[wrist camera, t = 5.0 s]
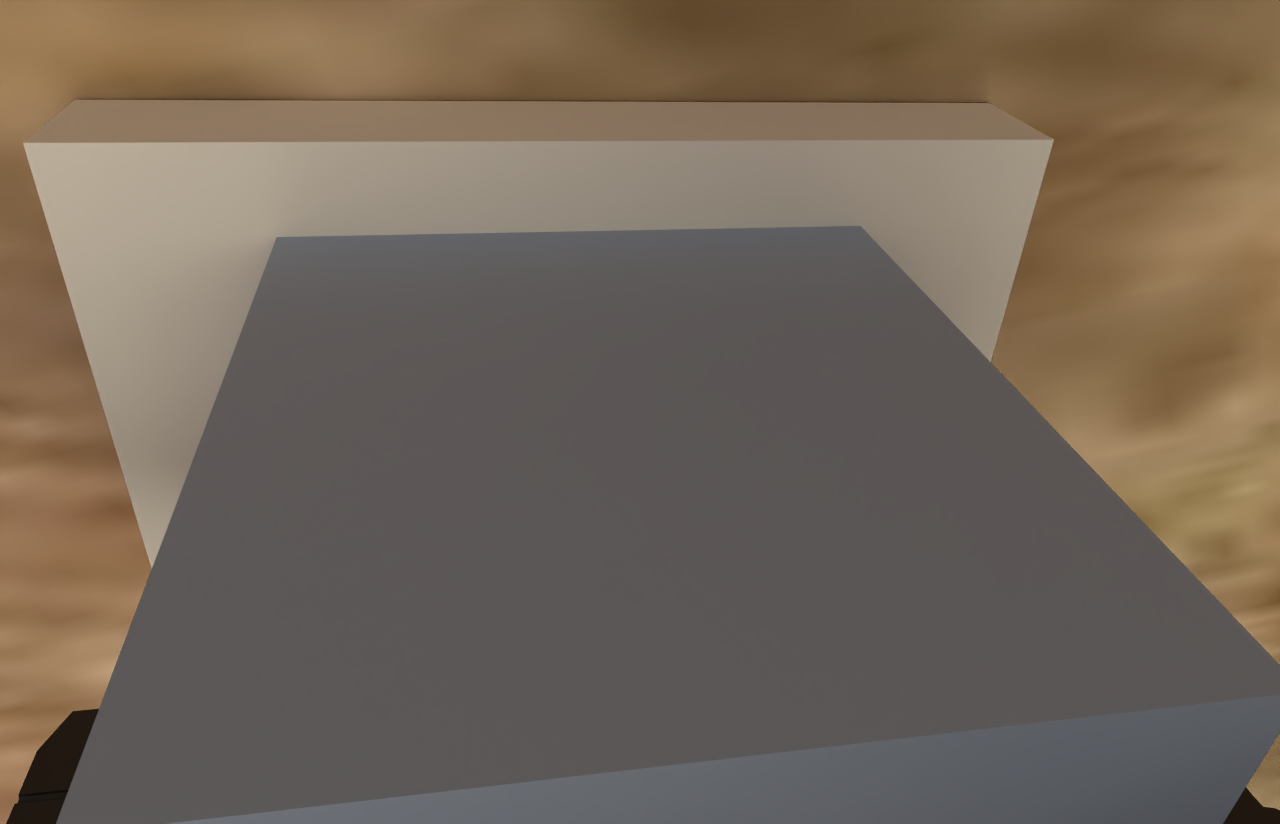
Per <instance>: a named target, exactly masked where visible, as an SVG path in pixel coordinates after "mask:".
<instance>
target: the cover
mask: <svg viewBox="0 0 1280 824" xmlns="http://www.w3.org/2000/svg"><path fill="white" fill-rule="evenodd" d="M1279 733H1280V665H1279V664H1278V663H1277V662H1276V661H1275V660H1274V659H1273V658H1272V656H1271V655H1270V654H1269V653H1268V652H1267V651H1266V650H1265V649H1264V648H1263V647H1262V646H1261V645H1260V644H1259V643H1258V642H1257V641H1256V640H1255V639H1254V638H1253V637H1252V636H1251V634H1250V633H1249V632H1248V631H1247V630H1246V629H1245V628H1244V627H1243V626H1242V625H1241V624H1240V623H1239V622H1238V621H1237V620H1236V619H1235V618H1234V617H1233V616H1232V615H1231V614H1230V612H1229V611H1228V610H1227V609H1226V608H1225V607H1224V606H1223V605H1222V604H1221V603H1220V602H1219V601H1218V600H1217V599H1216V598H1215V597H1214V596H1213V595H1212V594H1211V593H1210V592H1209V590H1208V589H1207V588H1206V587H1205V586H1204V585H1203V584H1202V583H1201V582H1200V581H1199V580H1198V579H1197V578H1196V577H1195V576H1194V575H1193V574H1192V573H1191V572H1190V571H1189V570H1188V568H1187V567H1186V566H1185V565H1184V564H1183V563H1182V562H1181V561H1180V560H1179V559H1178V558H1177V557H1176V556H1175V555H1174V554H1173V553H1172V552H1171V551H1170V550H1169V549H1168V548H1167V546H1166V545H1165V544H1164V543H1163V542H1162V541H1161V540H1160V539H1159V538H1158V537H1157V536H1156V535H1155V534H1154V533H1153V532H1152V531H1151V530H1150V529H1149V528H1148V527H1147V526H1146V524H1145V523H1144V522H1143V521H1142V520H1141V519H1140V518H1139V517H1138V516H1137V515H1136V514H1135V513H1134V512H1133V511H1132V510H1131V509H1130V508H1129V507H1128V506H1127V505H1126V504H1125V502H1124V501H1123V500H1122V499H1121V498H1120V497H1119V496H1118V495H1117V494H1116V493H1115V492H1114V491H1113V490H1112V489H1111V488H1110V487H1109V486H1108V485H1107V484H1106V483H1105V482H1104V480H1103V479H1102V478H1101V477H1100V476H1099V475H1098V474H1097V473H1096V472H1095V471H1094V470H1093V469H1092V468H1091V467H1090V466H1089V465H1088V464H1087V463H1086V462H1085V461H1084V460H1083V458H1082V457H1081V456H1080V455H1079V454H1078V453H1077V452H1076V451H1075V450H1074V449H1073V448H1072V447H1071V446H1070V445H1069V444H1068V443H1067V442H1066V441H1065V440H1064V439H1063V438H1062V437H1061V435H1060V434H1059V433H1058V432H1057V431H1056V430H1055V429H1054V428H1053V427H1052V426H1051V425H1050V424H1049V423H1048V422H1047V421H1046V420H1045V419H1044V418H1043V417H1042V416H1041V415H1040V413H1039V412H1038V411H1037V410H1036V409H1035V408H1034V407H1033V406H1032V405H1031V404H1030V403H1029V402H1028V401H1027V400H1026V399H1025V398H1024V397H1023V396H1022V395H1021V394H1020V393H1019V391H1018V390H1017V389H1016V388H1015V387H1014V386H1013V385H1012V384H1011V383H1010V382H1009V381H1008V380H1007V379H1006V378H1005V377H1004V376H1003V375H1002V374H1001V373H1000V372H999V371H998V369H997V368H996V367H995V366H994V365H993V364H992V363H991V362H990V361H989V360H988V359H987V358H986V357H985V356H984V355H983V354H982V353H981V352H980V351H979V350H978V349H977V347H976V346H975V345H974V344H973V343H972V342H971V341H970V340H969V339H968V338H967V337H966V336H965V335H964V334H963V333H962V332H961V331H960V330H959V329H958V328H957V327H956V325H955V324H954V323H953V322H952V321H951V320H950V319H949V318H948V317H947V316H946V315H945V314H944V313H943V312H942V311H941V310H940V309H939V308H938V307H937V306H936V305H935V303H934V302H933V301H932V300H931V299H930V298H929V297H928V296H927V295H926V294H925V293H924V292H923V291H922V290H921V289H920V288H919V287H918V286H917V285H916V284H915V283H914V281H913V280H912V279H911V278H910V277H909V276H908V275H907V274H906V273H905V272H904V271H903V270H902V269H901V268H900V267H899V266H898V265H897V264H896V263H895V262H894V261H893V259H892V258H891V257H890V256H889V255H888V254H887V253H886V252H885V251H884V250H883V249H882V248H881V247H880V246H879V245H878V244H877V243H876V242H875V241H874V240H873V239H872V237H871V236H870V235H869V234H868V233H867V232H866V231H865V230H864V229H863V228H862V227H861V226H829V227H776V228H724V229H672V230H620V231H568V232H516V233H463V234H411V235H359V236H307V237H277V238H276V240H275V243H274V246H273V248H272V251H271V254H270V256H269V259H268V262H267V264H266V267H265V270H264V272H263V275H262V277H261V280H260V283H259V285H258V288H257V291H256V293H255V296H254V299H253V301H252V304H251V307H250V309H249V312H248V315H247V317H246V320H245V323H244V325H243V328H242V331H241V333H240V336H239V339H238V341H237V344H236V347H235V349H234V352H233V355H232V357H231V360H230V363H229V365H228V368H227V371H226V373H225V376H224V378H223V381H222V384H221V386H220V389H219V392H218V394H217V397H216V400H215V402H214V405H213V408H212V410H211V413H210V416H209V418H208V421H207V424H206V426H205V429H204V432H203V434H202V437H201V440H200V442H199V445H198V448H197V450H196V453H195V456H194V458H193V461H192V464H191V466H190V469H189V472H188V474H187V477H186V479H185V482H184V485H183V487H182V490H181V493H180V495H179V498H178V501H177V503H176V506H175V509H174V511H173V514H172V517H171V519H170V522H169V525H168V527H167V530H166V533H165V535H164V538H163V541H162V543H161V546H160V549H159V551H158V554H157V557H156V559H155V562H154V565H153V567H152V570H151V573H150V575H149V578H148V580H147V583H146V586H145V588H144V591H143V594H142V596H141V599H140V602H139V604H138V607H137V610H136V612H135V615H134V618H133V620H132V623H131V626H130V628H129V631H128V634H127V636H126V639H125V642H124V644H123V647H122V650H121V652H120V655H119V658H118V660H117V663H116V666H115V668H114V671H113V674H112V676H111V679H110V681H109V684H108V687H107V689H106V692H105V695H104V697H103V700H102V703H101V705H100V708H99V711H98V713H97V716H96V719H95V721H94V724H93V727H92V729H91V732H90V735H89V737H88V740H87V743H86V745H85V748H84V751H83V753H82V756H81V759H80V761H79V764H78V767H77V769H76V772H75V774H74V777H73V780H72V782H71V785H70V788H69V790H68V793H67V796H66V798H65V801H64V804H63V806H62V809H61V812H60V814H59V817H58V820H57V822H56V824H1223V823H1224V821H1225V820H1226V818H1227V816H1228V815H1229V813H1230V812H1231V810H1232V808H1233V807H1234V805H1235V803H1236V802H1237V800H1238V799H1239V797H1240V795H1241V794H1242V792H1243V791H1244V789H1245V787H1246V786H1247V784H1248V783H1249V781H1250V779H1251V778H1252V776H1253V775H1254V773H1255V771H1256V770H1257V768H1258V767H1259V765H1260V763H1261V762H1262V760H1263V758H1264V757H1265V755H1266V754H1267V752H1268V750H1269V749H1270V747H1271V746H1272V744H1273V742H1274V741H1275V739H1276V738H1277V736H1278V734H1279Z"/></svg>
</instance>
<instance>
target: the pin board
mask: <svg viewBox="0 0 1280 824" xmlns="http://www.w3.org/2000/svg"><path fill="white" fill-rule="evenodd" d="M1053 141H1054V139H1052V138H1050V137H1048V136H1047V135H1045V134H1043V133H1041V132H1040V131H1038V130H1036V129H1034V128H1033V127H1031V126H1029V125H1027V124H1026V123H1024V122H1022V121H1020V120H1019V119H1017V118H1015V117H1013V116H1012V115H1010V114H1008V113H1006V112H1005V111H1003V110H1001V109H1000V108H998V107H996V106H994V105H993V104H991V103H824V102H568V101H312V100H74V101H72V102H71V103H70V104H69V105H68V106H66V107H65V108H64V109H63V110H62V111H60V112H59V113H58V114H57V115H56V116H54V117H53V118H52V119H51V120H50V121H48V122H47V123H46V124H45V125H44V126H43V127H41V128H40V129H39V130H38V131H37V132H35V133H34V134H33V135H32V136H31V137H29V138H28V139H27V140H26V141H25V142H23V145H24V148H25V151H26V155H27V158H28V161H29V165H30V168H31V171H32V175H33V178H34V181H35V184H36V188H37V191H38V194H39V198H40V201H41V204H42V208H43V211H44V214H45V218H46V221H47V224H48V227H49V231H50V234H51V237H52V241H53V244H54V247H55V251H56V254H57V257H58V260H59V264H60V267H61V270H62V274H63V277H64V280H65V284H66V287H67V290H68V294H69V297H70V300H71V303H72V307H73V310H74V313H75V317H76V320H77V323H78V327H79V330H80V333H81V337H82V340H83V343H84V346H85V350H86V353H87V356H88V360H89V363H90V366H91V370H92V373H93V376H94V379H95V383H96V386H97V389H98V393H99V396H100V399H101V403H102V406H103V409H104V413H105V416H106V419H107V422H108V426H109V429H110V432H111V436H112V439H113V442H114V446H115V449H116V452H117V456H118V459H119V462H120V465H121V469H122V472H123V475H124V479H125V482H126V485H127V489H128V492H129V495H130V498H131V502H132V505H133V508H134V512H135V515H136V518H137V522H138V525H139V528H140V532H141V535H142V538H143V541H144V545H145V548H146V551H147V555H148V558H149V561H150V565H151V568H152V567H153V565H154V562H155V559H156V557H157V554H158V551H159V549H160V546H161V543H162V541H163V538H164V535H165V533H166V530H167V527H168V525H169V522H170V519H171V517H172V514H173V511H174V509H175V506H176V503H177V501H178V498H179V495H180V493H181V490H182V487H183V485H184V482H185V479H186V477H187V474H188V472H189V469H190V466H191V464H192V461H193V458H194V456H195V453H196V450H197V448H198V445H199V442H200V440H201V437H202V434H203V432H204V429H205V426H206V424H207V421H208V418H209V416H210V413H211V410H212V408H213V405H214V402H215V400H216V397H217V394H218V392H219V389H220V386H221V384H222V381H223V378H224V376H225V373H226V371H227V368H228V365H229V363H230V360H231V357H232V355H233V352H234V349H235V347H236V344H237V341H238V339H239V336H240V333H241V331H242V328H243V325H244V323H245V320H246V317H247V315H248V312H249V309H250V307H251V304H252V301H253V299H254V296H255V293H256V291H257V288H258V285H259V283H260V280H261V277H262V275H263V272H264V270H265V267H266V264H267V262H268V259H269V256H270V254H271V251H272V248H273V246H274V243H275V240H276V238H277V237H307V236H359V235H411V234H463V233H516V232H568V231H620V230H672V229H724V228H776V227H829V226H861V227H862V228H863V229H864V230H865V231H866V232H867V233H868V234H869V235H870V236H871V237H872V239H873V240H874V241H875V242H876V243H877V244H878V245H879V246H880V247H881V248H882V249H883V250H884V251H885V252H886V253H887V254H888V255H889V256H890V257H891V258H892V259H893V261H894V262H895V263H896V264H897V265H898V266H899V267H900V268H901V269H902V270H903V271H904V272H905V273H906V274H907V275H908V276H909V277H910V278H911V279H912V280H913V281H914V283H915V284H916V285H917V286H918V287H919V288H920V289H921V290H922V291H923V292H924V293H925V294H926V295H927V296H928V297H929V298H930V299H931V300H932V301H933V302H934V303H935V305H936V306H937V307H938V308H939V309H940V310H941V311H942V312H943V313H944V314H945V315H946V316H947V317H948V318H949V319H950V320H951V321H952V322H953V323H954V324H955V325H956V327H957V328H958V329H959V330H960V331H961V332H962V333H963V334H964V335H965V336H966V337H967V338H968V339H969V340H970V341H971V342H972V343H973V344H974V345H975V346H976V347H977V349H978V350H979V351H980V352H981V353H982V354H983V355H984V356H985V357H986V358H987V359H988V360H989V361H990V362H991V359H992V355H993V352H994V348H995V345H996V341H997V338H998V334H999V331H1000V327H1001V324H1002V320H1003V317H1004V313H1005V310H1006V306H1007V303H1008V299H1009V296H1010V292H1011V289H1012V285H1013V282H1014V278H1015V275H1016V271H1017V268H1018V264H1019V260H1020V257H1021V253H1022V250H1023V246H1024V243H1025V239H1026V236H1027V232H1028V229H1029V225H1030V222H1031V218H1032V215H1033V211H1034V208H1035V204H1036V201H1037V197H1038V194H1039V190H1040V187H1041V183H1042V180H1043V176H1044V172H1045V169H1046V165H1047V162H1048V158H1049V155H1050V151H1051V148H1052V144H1053Z"/></svg>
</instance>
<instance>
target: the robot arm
mask: <svg viewBox="0 0 1280 824" xmlns="http://www.w3.org/2000/svg"><path fill="white" fill-rule="evenodd" d="M98 711H99V709H93V710H82V711H73V712H72V713H71V714H70V715H69V716H68V717H67V718H66V720H65V721H64V722H63V723H62V724H61V725H60V726H59V727H58V728H57V730H56V731H55V732H54V733H53V734H52V735H51V736H50V737H49V738H48V740H47V741H46V742H45V743H44V744H43V745H42V746H41V747H40V748H39V750H38V751H37V752H36V755H35V757H34V760H33V762H32V764H31V767H30V769H29V771H28V774H27V776H26V778H25V781H24V783H23V786H22V788H21V790H20V793H19V801H18V803H17V804H14V807H13V809H12V811H11V814H10V816H9V819H8V821H7V823H6V824H56V822H57V820H58V817H59V814H60V812H61V809H62V806H63V804H64V801H65V798H66V796H67V793H68V790H69V788H70V785H71V782H72V780H73V777H74V774H75V772H76V769H77V767H78V764H79V761H80V759H81V756H82V753H83V751H84V748H85V745H86V743H87V740H88V737H89V735H90V732H91V729H92V727H93V724H94V721H95V719H96V716H97V713H98ZM1223 824H1280V810H1278V809H1275V808H1268V807H1263V806H1262V805H1261V804H1260V803H1259V802H1258V801H1257V800H1256V799H1255V798H1254V796H1253V795H1252V794H1251V793H1250V792H1249V790H1248V789H1247V788H1246V787H1245V789H1244V791H1243V792H1242V794H1241V795H1240V797H1239V799H1238V800H1237V802H1236V803H1235V805H1234V807H1233V808H1232V810H1231V812H1230V813H1229V815H1228V816H1227V818H1226V820H1225V821H1224V823H1223Z"/></svg>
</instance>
